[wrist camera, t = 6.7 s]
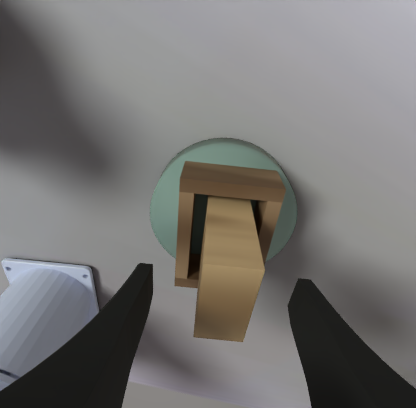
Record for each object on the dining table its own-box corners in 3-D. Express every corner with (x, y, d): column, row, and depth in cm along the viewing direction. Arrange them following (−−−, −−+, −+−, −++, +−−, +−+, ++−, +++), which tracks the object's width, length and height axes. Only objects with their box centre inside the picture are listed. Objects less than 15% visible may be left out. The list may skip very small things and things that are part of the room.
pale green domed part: (271, 257, 23) (277, 279, 20) (157, 245, 22) (150, 266, 20) (305, 146, 17) (317, 159, 15) (157, 130, 17) (148, 141, 15)
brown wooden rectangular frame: (251, 267, 20) (256, 294, 18) (179, 260, 20) (174, 285, 18) (276, 170, 16) (286, 189, 14) (185, 160, 16) (179, 178, 13)
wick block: (235, 249, 19) (243, 342, 13) (201, 246, 19) (193, 337, 13) (248, 190, 16) (264, 270, 10) (209, 185, 16) (203, 263, 10)
